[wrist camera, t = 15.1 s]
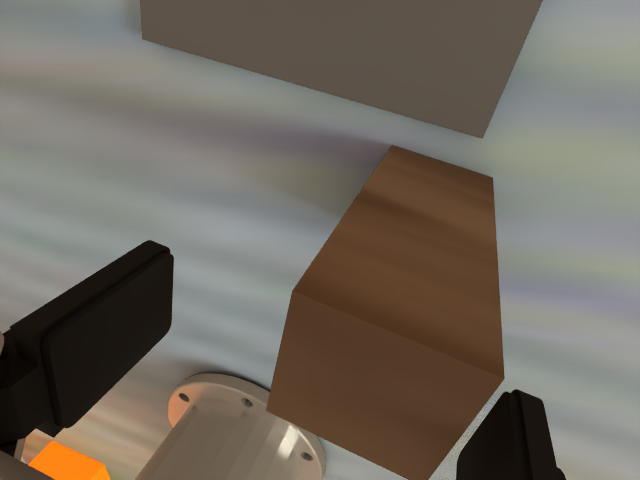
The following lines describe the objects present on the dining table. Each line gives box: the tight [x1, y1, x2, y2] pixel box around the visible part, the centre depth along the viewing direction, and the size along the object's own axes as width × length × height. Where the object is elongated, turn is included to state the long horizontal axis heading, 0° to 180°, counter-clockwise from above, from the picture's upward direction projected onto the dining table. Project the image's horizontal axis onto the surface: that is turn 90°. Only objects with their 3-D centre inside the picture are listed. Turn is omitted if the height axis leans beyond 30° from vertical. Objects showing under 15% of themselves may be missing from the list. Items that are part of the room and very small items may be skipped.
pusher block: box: [266, 145, 504, 480], centre depth 12 cm, size 4×4×10 cm
